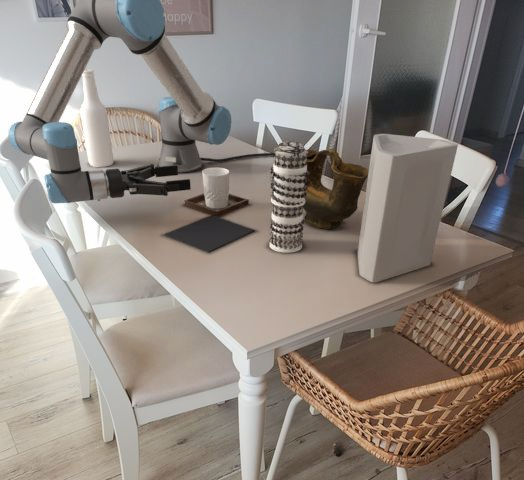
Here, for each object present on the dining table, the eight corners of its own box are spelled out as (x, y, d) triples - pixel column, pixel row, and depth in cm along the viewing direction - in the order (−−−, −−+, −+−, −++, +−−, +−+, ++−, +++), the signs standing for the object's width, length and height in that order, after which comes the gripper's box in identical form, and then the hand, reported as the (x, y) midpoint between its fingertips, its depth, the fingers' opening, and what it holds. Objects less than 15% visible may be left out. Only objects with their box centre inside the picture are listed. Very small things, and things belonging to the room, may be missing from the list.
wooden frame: (215, 194, 163) (215, 189, 162) (248, 204, 156) (248, 199, 155) (184, 205, 154) (184, 200, 153) (218, 217, 147) (217, 211, 146)
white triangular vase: (388, 242, 135) (408, 129, 119) (431, 264, 125) (459, 144, 109) (332, 258, 127) (345, 139, 111) (372, 283, 117) (394, 156, 100)
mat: (211, 216, 148) (211, 215, 147) (254, 231, 140) (254, 230, 139) (164, 235, 136) (164, 234, 136) (208, 252, 128) (208, 251, 128)
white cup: (209, 211, 150) (208, 177, 145) (199, 202, 156) (198, 169, 150) (234, 207, 153) (233, 173, 148) (223, 199, 159) (222, 166, 153)
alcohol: (83, 164, 185) (67, 70, 167) (102, 158, 191) (88, 67, 173) (100, 169, 181) (85, 73, 163) (119, 163, 187) (106, 70, 169)
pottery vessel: (278, 213, 151) (281, 142, 139) (305, 205, 157) (310, 136, 145) (341, 241, 136) (351, 164, 124) (368, 231, 141) (380, 156, 130)
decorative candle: (292, 256, 127) (299, 152, 113) (261, 247, 131) (263, 145, 116) (309, 244, 134) (318, 143, 119) (279, 235, 137) (283, 137, 123)
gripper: (102, 183, 151) (173, 177, 158) (116, 213, 132) (196, 204, 139) (98, 157, 146) (171, 151, 153) (112, 184, 128) (195, 176, 134)
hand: (183, 177), depth 146 cm, fingers open, 13 cm apart
